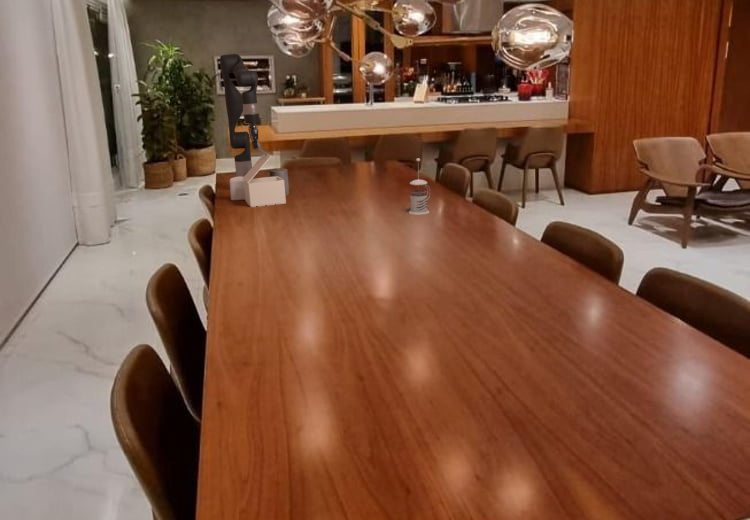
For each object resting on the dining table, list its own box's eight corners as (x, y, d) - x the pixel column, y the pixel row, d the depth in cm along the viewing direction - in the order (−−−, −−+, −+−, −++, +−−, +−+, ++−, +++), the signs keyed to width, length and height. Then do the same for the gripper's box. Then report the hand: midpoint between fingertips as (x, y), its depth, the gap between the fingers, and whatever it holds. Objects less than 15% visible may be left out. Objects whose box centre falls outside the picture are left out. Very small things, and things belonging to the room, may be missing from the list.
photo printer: (250, 198, 343) (248, 175, 339) (250, 199, 339) (248, 176, 335) (231, 199, 342) (229, 176, 338) (230, 201, 338) (228, 177, 334)
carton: (245, 202, 332) (243, 179, 329) (279, 198, 339) (277, 176, 335) (250, 207, 320) (248, 183, 316) (285, 203, 326) (284, 180, 323)
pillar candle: (268, 194, 350) (265, 167, 345) (282, 192, 356) (280, 165, 351) (277, 197, 343) (275, 169, 338) (292, 194, 349) (290, 167, 345)
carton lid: (243, 179, 329) (228, 167, 325) (267, 151, 330) (253, 138, 325) (248, 183, 316) (233, 170, 312) (273, 154, 317) (258, 141, 313)
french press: (404, 212, 296) (402, 158, 288) (422, 208, 303) (421, 155, 296) (418, 215, 289) (417, 160, 281) (436, 211, 296) (436, 157, 288)
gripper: (241, 112, 320) (245, 147, 325) (246, 114, 307) (250, 150, 313) (255, 111, 322) (259, 146, 327) (261, 113, 310) (265, 148, 315)
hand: (255, 148), depth 320 cm, fingers closed
